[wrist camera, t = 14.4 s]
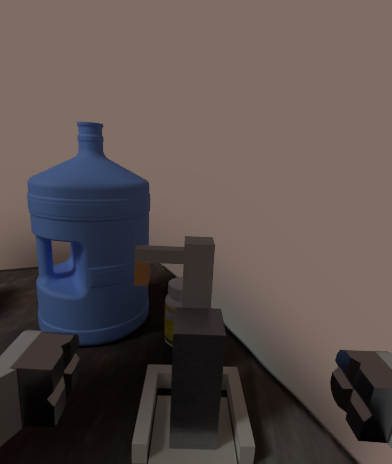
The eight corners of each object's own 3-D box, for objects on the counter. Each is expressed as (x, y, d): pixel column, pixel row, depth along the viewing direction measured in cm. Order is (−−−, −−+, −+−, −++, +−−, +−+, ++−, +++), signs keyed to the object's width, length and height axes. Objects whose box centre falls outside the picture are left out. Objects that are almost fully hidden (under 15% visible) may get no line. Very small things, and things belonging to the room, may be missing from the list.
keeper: (109, 470, 23) (104, 283, 19) (137, 361, 35) (138, 234, 31) (254, 473, 23) (278, 290, 19) (232, 363, 36) (243, 238, 32)
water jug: (131, 288, 55) (130, 132, 48) (164, 331, 42) (170, 125, 35) (37, 304, 47) (20, 121, 40) (42, 364, 34) (18, 108, 27)
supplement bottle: (181, 325, 43) (183, 273, 41) (205, 339, 40) (209, 283, 38) (156, 338, 40) (157, 282, 38) (180, 355, 37) (183, 294, 35)
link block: (169, 448, 24) (173, 333, 22) (172, 408, 28) (176, 307, 26) (216, 449, 25) (226, 335, 22) (212, 410, 28) (220, 308, 26)
